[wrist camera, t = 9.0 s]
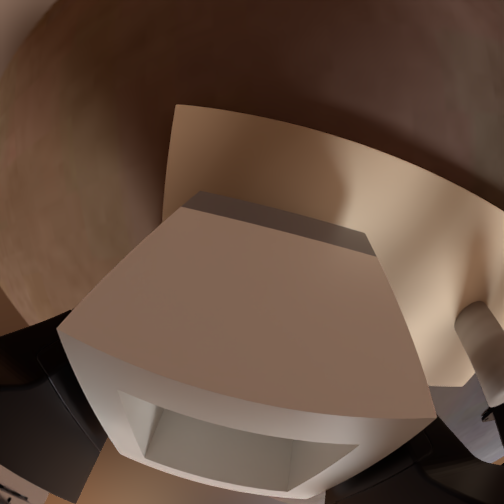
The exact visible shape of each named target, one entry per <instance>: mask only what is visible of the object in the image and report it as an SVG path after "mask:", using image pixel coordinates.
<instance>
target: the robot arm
mask: <svg viewBox="0 0 504 504" xmlns="http://www.w3.org/2000/svg"><path fill="white" fill-rule="evenodd" d="M72 311H73V309H72V310H69V311H67V312H64V313H62V314H60V315H57V316H55V317H53V318H50V319H48V320H45V321H43V322H40V323H37V324H35V325H32V326H29V327H26V328H24V329H20V330H18V331H15V332H12V333H9V334H6V335H3V336H0V504H44V503H45V500H46V499H47V496H48V494H49V493H52V494H54V495H56V496H58V497H60V498H63V499H65V500H67V501H70V502H72V503H75V504H76V502H77V500H78V498H79V496H80V494H81V492H82V489H83V487H84V485H85V483H86V481H87V478H88V477H89V475H90V472H91V470H92V468H93V466H94V464H95V462H96V460H97V458H98V456H99V454H100V452H99V451H101V450H102V448H103V446H104V443H105V442H106V439H107V438H108V435H107V433H106V432H105V430H104V428H103V427H102V425H101V423H100V422H99V420H98V418H97V416H96V415H95V413H94V411H93V409H92V407H91V406H90V404H89V402H88V400H87V398H86V396H85V394H84V392H83V390H82V388H81V386H80V384H79V382H78V380H77V378H76V376H75V373H74V371H73V369H72V367H71V364H70V362H69V360H68V357H67V355H66V352H65V350H64V347H63V345H62V342H61V340H60V337H59V334H58V332H57V329H56V328H57V327H58V326H59V325H60V324H61V323H62V322H63V320H64V319H65V318H66V317H67V316H68V315H69V314H70V313H71V312H72ZM436 415H437V414H436ZM481 419H482V422H487V421H492V420H495V423H496V426H497V429H498V432H499V435H500V439H501V442H502V445H503V447H504V403H502V404H500V405H498V406H495V407H493V408H492V409H491V410H490V411H489V412H487V413H486V414H485V415H484V416H483V417H482V418H481ZM325 504H504V463H503V464H502V465H496V464H491V463H486V462H484V461H481V460H479V459H478V458H476V457H475V456H474V455H473V454H472V453H471V452H470V451H469V450H468V449H467V448H466V447H465V446H464V445H463V443H462V442H461V441H460V440H459V439H458V438H457V437H456V436H455V435H454V433H453V432H452V431H451V430H450V429H449V428H448V427H447V426H446V424H445V423H444V422H443V421H442V420H441V419H440V418H439V416H438V415H437V418H436V419H435V420H434V421H433V422H431V423H430V424H429V425H428V426H427V427H425V428H424V429H423V430H422V431H420V432H419V433H418V434H417V435H415V436H414V437H413V438H411V439H410V440H409V441H407V442H406V443H405V444H403V445H402V446H400V447H399V448H398V449H396V450H395V451H393V452H392V453H390V454H389V455H387V456H386V457H384V458H383V459H381V460H380V461H378V462H377V463H375V464H373V465H372V466H370V467H369V468H367V469H365V470H363V471H362V472H360V473H358V474H357V475H355V476H353V477H351V478H349V479H347V480H346V481H344V482H342V483H340V484H338V485H336V486H334V487H332V488H330V489H328V490H326V495H325Z"/></svg>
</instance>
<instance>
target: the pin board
mask: <svg viewBox="0 0 504 504" xmlns="http://www.w3.org/2000/svg"><path fill="white" fill-rule="evenodd" d="M199 191H204V192H209V193H213V194H218V195H222V196H227V197H231V198H235V199H240V200H244V201H248V202H252V203H256V204H260V205H264V206H268V207H272V208H276V209H280V210H284V211H288V212H292V213H296V214H299V215H303V216H307V217H311V218H314V219H318V220H321V221H325V222H329V223H332V224H336V225H339V226H343V227H346V228H350V229H353V230H356V231H360V232H363V233H365V234H366V236H367V238H368V240H369V242H370V244H371V246H372V248H373V250H374V252H375V254H376V256H377V258H378V260H379V262H380V264H381V266H382V269H383V271H384V273H385V275H386V277H387V279H388V282H389V284H390V286H391V288H392V290H393V293H394V295H395V297H396V300H397V302H398V304H399V307H400V309H401V312H402V314H403V316H404V319H405V321H406V324H407V326H408V329H409V332H410V334H411V337H412V340H413V342H414V345H415V348H416V351H417V353H418V356H419V359H420V362H421V365H422V368H423V371H424V374H425V377H426V380H427V384H428V386H463V385H464V384H465V383H466V382H467V381H468V380H469V379H470V378H471V377H472V376H473V374H474V373H476V375H477V377H478V380H479V382H480V385H481V387H482V389H483V392H484V395H485V397H486V400H487V402H488V405H489V407H495V406H498V405H500V404H502V403H504V211H503V210H501V209H499V208H498V207H496V206H494V205H493V204H491V203H489V202H488V201H486V200H484V199H483V198H481V197H479V196H477V195H475V194H474V193H472V192H470V191H468V190H466V189H464V188H462V187H461V186H459V185H457V184H455V183H453V182H451V181H449V180H447V179H445V178H443V177H441V176H438V175H436V174H434V173H432V172H430V171H428V170H426V169H423V168H421V167H419V166H416V165H414V164H412V163H409V162H407V161H405V160H402V159H400V158H397V157H395V156H392V155H390V154H387V153H385V152H382V151H379V150H377V149H374V148H371V147H368V146H365V145H363V144H360V143H357V142H354V141H351V140H348V139H345V138H341V137H338V136H335V135H332V134H328V133H325V132H321V131H318V130H314V129H311V128H307V127H303V126H299V125H295V124H291V123H287V122H283V121H279V120H274V119H270V118H265V117H260V116H256V115H250V114H245V113H240V112H234V111H228V110H222V109H215V108H208V107H200V106H192V105H180V104H176V107H175V113H174V119H173V125H172V132H171V139H170V146H169V153H168V162H167V170H166V180H165V190H164V201H163V213H162V223H163V222H164V221H165V220H166V219H167V218H168V217H169V216H171V215H172V214H173V213H174V212H175V211H176V210H178V209H179V208H180V207H181V206H182V205H183V204H185V203H186V202H187V201H188V200H189V199H191V198H192V197H193V196H194V195H195V194H197V193H198V192H199Z"/></svg>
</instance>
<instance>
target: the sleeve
mask: <svg viewBox="0 0 504 504" xmlns="http://www.w3.org/2000/svg"><path fill="white" fill-rule="evenodd" d="M56 329H57V332H58V334H59V337H60V340H61V342H62V345H63V347H64V350H65V352H66V355H67V357H68V360H69V362H70V364H71V367H72V369H73V371H74V373H75V376H76V378H77V380H78V382H79V384H80V386H81V388H82V390H83V392H84V394H85V396H86V398H87V400H88V402H89V404H90V406H91V407H92V409H93V411H94V413H95V415H96V416H97V418H98V420H99V422H100V423H101V425H102V427H103V428H104V430H105V432H106V433H107V435H108V436H109V438H110V440H111V441H112V443H113V444H114V446H115V447H116V449H117V450H118V452H119V453H120V454H121V455H124V456H126V457H128V458H130V459H133V460H135V461H137V462H140V463H143V464H145V465H147V466H150V467H153V468H155V469H158V470H161V471H164V472H167V473H170V474H173V475H176V476H179V477H182V478H185V479H189V480H192V481H196V482H200V483H203V484H207V485H211V486H216V487H220V488H225V489H230V490H235V491H240V492H246V493H252V494H259V495H266V496H274V497H285V498H298V499H308V498H310V497H313V496H315V495H317V494H319V493H321V492H324V491H326V490H328V489H330V488H332V487H334V486H336V485H338V484H340V483H342V482H344V481H346V480H347V479H349V478H351V477H353V476H355V475H357V474H358V473H360V472H362V471H363V470H365V469H367V468H369V467H370V466H372V465H373V464H375V463H377V462H378V461H380V460H381V459H383V458H384V457H386V456H387V455H389V454H390V453H392V452H393V451H395V450H396V449H398V448H399V447H400V446H402V445H403V444H405V443H406V442H407V441H409V440H410V439H411V438H413V437H414V436H415V435H417V434H418V433H419V432H420V431H422V430H423V429H424V428H425V427H427V426H428V425H429V424H430V423H431V422H433V421H434V420H435V419H436V418H437V415H436V412H435V408H434V404H433V401H432V397H431V394H430V390H429V387H428V384H427V380H426V377H425V374H424V371H423V368H422V365H421V362H420V359H419V356H418V353H417V351H416V348H415V345H414V342H413V340H412V337H411V334H410V332H409V329H408V326H407V324H406V321H405V319H404V316H403V314H402V312H401V309H400V307H399V304H398V302H397V300H396V297H395V295H394V293H393V290H392V288H391V286H390V284H389V282H388V279H387V277H386V275H385V273H384V271H383V269H382V266H381V264H380V262H379V260H378V258H377V256H376V254H375V252H374V250H373V248H372V246H371V244H370V242H369V240H368V238H367V236H366V234H365V233H363V232H360V231H356V230H353V229H350V228H346V227H343V226H339V225H336V224H332V223H329V222H325V221H321V220H318V219H314V218H311V217H307V216H303V215H299V214H296V213H292V212H288V211H284V210H280V209H276V208H272V207H268V206H264V205H260V204H256V203H252V202H248V201H244V200H240V199H235V198H231V197H227V196H222V195H218V194H213V193H209V192H204V191H199V192H198V193H197V194H195V195H194V196H193V197H192V198H191V199H189V200H188V201H187V202H186V203H185V204H183V205H182V206H181V207H180V208H179V209H178V210H176V211H175V212H174V213H173V214H172V215H171V216H169V217H168V218H167V219H166V220H165V221H164V222H163V223H161V224H160V225H159V226H158V227H157V228H156V229H155V230H154V231H152V232H151V233H150V234H149V235H148V236H147V237H146V238H145V239H144V240H143V241H142V242H140V243H139V244H138V245H137V246H136V247H135V248H134V249H133V250H132V251H131V252H130V253H129V254H128V255H127V256H126V257H124V258H123V259H122V260H121V261H120V262H119V263H118V264H117V265H116V266H115V267H114V268H113V269H112V270H111V271H110V272H109V273H108V274H107V275H106V276H105V277H104V278H103V279H102V280H101V281H100V282H99V283H98V284H97V285H96V286H95V287H94V288H93V289H92V290H91V291H90V292H89V293H88V295H87V296H86V297H85V298H84V299H83V300H82V301H81V302H80V303H79V304H78V305H77V306H76V307H75V308H74V309H73V311H72V312H71V313H70V314H69V315H68V316H67V317H66V318H65V319H64V320H63V322H62V323H61V324H60V325H59V326H58V327H57V328H56Z"/></svg>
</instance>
